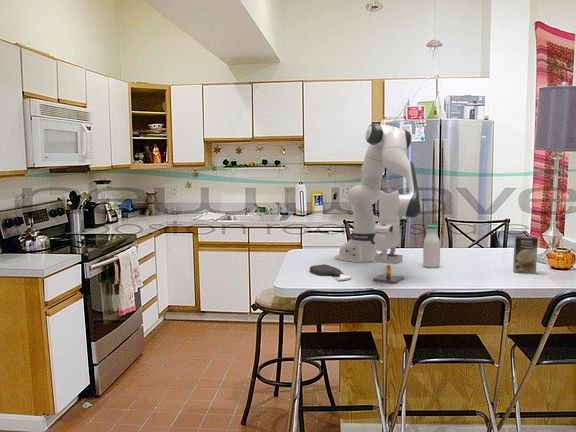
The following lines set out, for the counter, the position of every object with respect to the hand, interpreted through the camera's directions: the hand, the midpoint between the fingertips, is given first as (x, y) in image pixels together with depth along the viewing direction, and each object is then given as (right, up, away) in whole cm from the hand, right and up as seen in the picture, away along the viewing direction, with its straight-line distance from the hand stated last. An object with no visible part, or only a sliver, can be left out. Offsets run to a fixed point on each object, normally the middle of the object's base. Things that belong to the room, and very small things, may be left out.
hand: (388, 258), depth 220 cm
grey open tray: (0, -2, 0) cm, 2 cm away
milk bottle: (+26, -6, +28) cm, 39 cm away
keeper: (0, -10, +1) cm, 10 cm away
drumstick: (-24, -9, +12) cm, 28 cm away
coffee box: (+64, -8, +13) cm, 66 cm away
